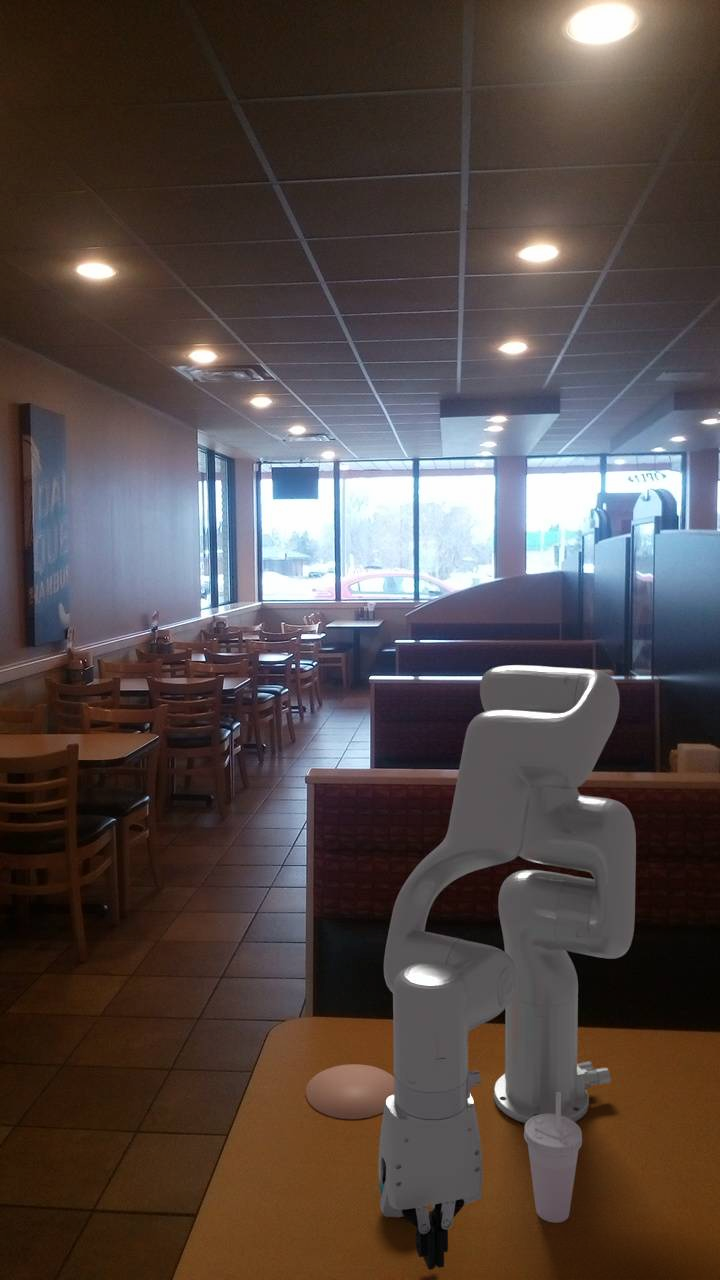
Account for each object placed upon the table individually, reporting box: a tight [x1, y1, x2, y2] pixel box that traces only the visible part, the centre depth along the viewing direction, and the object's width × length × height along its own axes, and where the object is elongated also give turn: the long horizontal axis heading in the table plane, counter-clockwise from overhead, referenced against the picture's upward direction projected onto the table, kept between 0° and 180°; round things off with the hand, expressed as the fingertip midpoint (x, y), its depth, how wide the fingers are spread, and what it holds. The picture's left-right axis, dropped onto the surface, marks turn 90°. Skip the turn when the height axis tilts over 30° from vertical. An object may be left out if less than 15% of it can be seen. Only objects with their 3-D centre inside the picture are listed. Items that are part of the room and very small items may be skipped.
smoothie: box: [523, 1092, 583, 1224], centre depth 105 cm, size 6×6×14 cm
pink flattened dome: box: [305, 1063, 394, 1120], centre depth 130 cm, size 13×13×1 cm
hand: (431, 1258), depth 97 cm, fingers closed
